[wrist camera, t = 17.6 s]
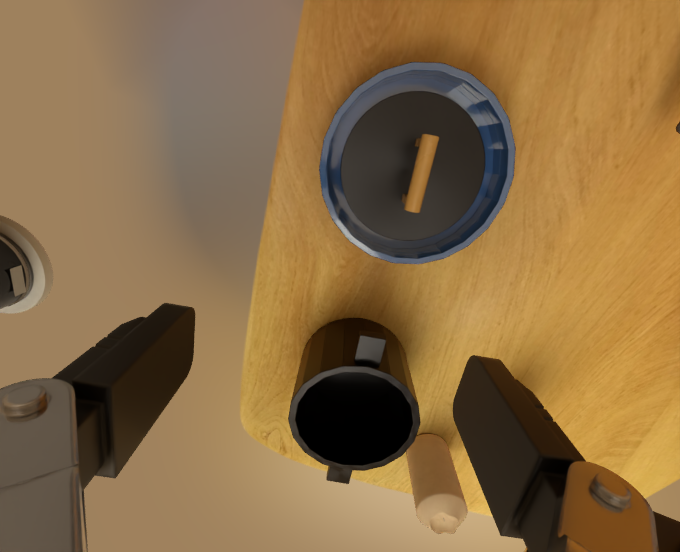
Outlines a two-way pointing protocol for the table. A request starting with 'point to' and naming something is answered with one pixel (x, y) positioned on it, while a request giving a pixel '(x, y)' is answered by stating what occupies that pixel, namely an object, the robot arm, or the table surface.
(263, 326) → the table surface
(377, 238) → the pan
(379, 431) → the pot
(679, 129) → the frying pan
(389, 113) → the lid
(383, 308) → the table surface
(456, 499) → the candle
